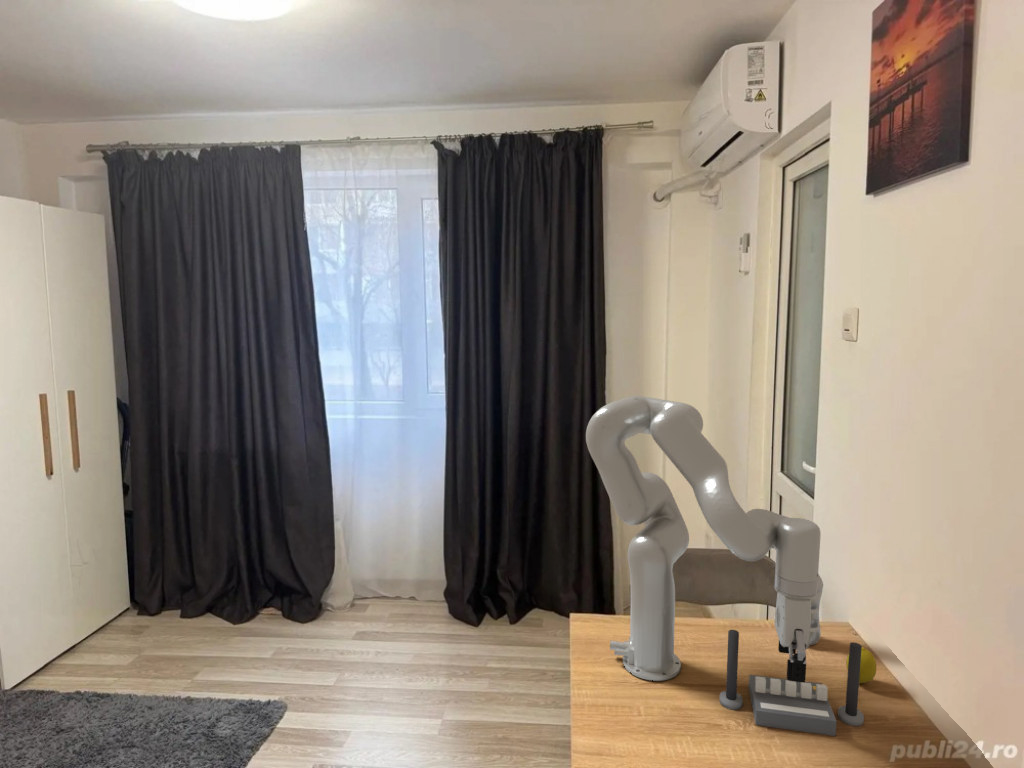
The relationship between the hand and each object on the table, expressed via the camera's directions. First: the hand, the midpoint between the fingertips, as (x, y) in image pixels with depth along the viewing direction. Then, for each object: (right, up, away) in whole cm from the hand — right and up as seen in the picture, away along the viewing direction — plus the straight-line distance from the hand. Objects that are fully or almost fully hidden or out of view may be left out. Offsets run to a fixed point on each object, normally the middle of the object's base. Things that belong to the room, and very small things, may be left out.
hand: (791, 666), depth 126 cm
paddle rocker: (0, -6, +1) cm, 6 cm away
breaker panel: (0, -9, +1) cm, 9 cm away
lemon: (+19, -8, +10) cm, 23 cm away
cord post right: (+11, -10, -1) cm, 15 cm away
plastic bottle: (+15, -6, +26) cm, 31 cm away
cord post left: (-11, -9, +4) cm, 14 cm away
